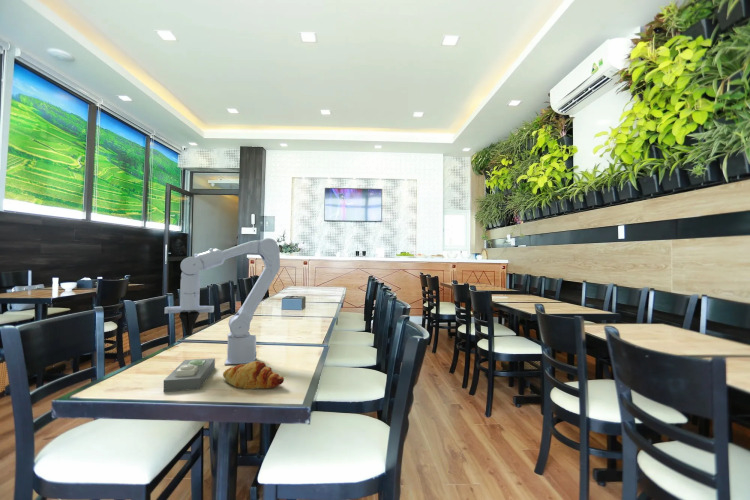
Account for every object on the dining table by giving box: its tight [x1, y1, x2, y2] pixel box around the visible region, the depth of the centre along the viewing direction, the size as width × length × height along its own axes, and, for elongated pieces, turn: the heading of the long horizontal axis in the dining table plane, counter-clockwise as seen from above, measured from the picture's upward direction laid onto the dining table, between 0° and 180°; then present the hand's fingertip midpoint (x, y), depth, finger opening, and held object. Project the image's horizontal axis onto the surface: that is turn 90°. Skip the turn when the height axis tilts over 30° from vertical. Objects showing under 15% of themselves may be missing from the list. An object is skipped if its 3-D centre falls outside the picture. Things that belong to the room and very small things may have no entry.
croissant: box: [222, 360, 285, 390], centre depth 104 cm, size 21×10×8 cm, turn 69°
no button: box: [176, 364, 198, 377], centre depth 103 cm, size 4×4×4 cm
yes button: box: [188, 359, 205, 366], centre depth 113 cm, size 4×4×4 cm
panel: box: [163, 357, 216, 393], centre depth 108 cm, size 9×20×3 cm, turn 13°
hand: (189, 334), depth 120 cm, fingers closed
